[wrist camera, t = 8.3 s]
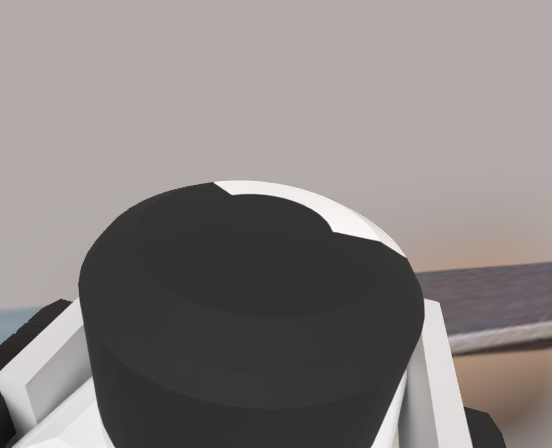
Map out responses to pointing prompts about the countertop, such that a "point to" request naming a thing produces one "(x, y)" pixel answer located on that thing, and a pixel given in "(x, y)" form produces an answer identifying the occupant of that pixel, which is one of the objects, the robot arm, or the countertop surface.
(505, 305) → the countertop surface
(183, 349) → the container
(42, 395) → the robot arm
